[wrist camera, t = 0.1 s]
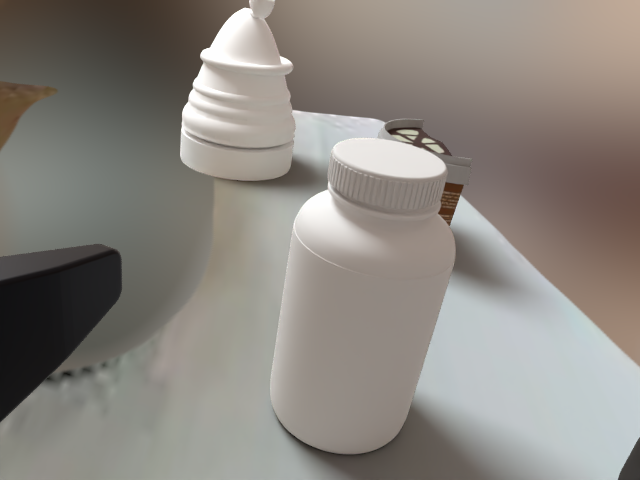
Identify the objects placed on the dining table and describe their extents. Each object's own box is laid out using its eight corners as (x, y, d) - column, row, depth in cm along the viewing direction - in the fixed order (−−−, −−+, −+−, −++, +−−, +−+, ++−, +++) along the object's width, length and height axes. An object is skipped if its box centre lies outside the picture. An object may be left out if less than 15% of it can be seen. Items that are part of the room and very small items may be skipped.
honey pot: (312, 171, 66) (337, 9, 58) (222, 188, 57) (236, 0, 49) (247, 138, 73) (260, -9, 65) (159, 148, 65) (162, -20, 57)
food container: (344, 206, 58) (362, 111, 53) (400, 210, 59) (421, 118, 55) (377, 267, 47) (402, 155, 42) (443, 269, 48) (475, 161, 44)
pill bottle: (263, 454, 28) (303, 173, 21) (272, 352, 35) (304, 118, 28) (417, 467, 28) (504, 200, 22) (395, 365, 36) (455, 140, 29)
